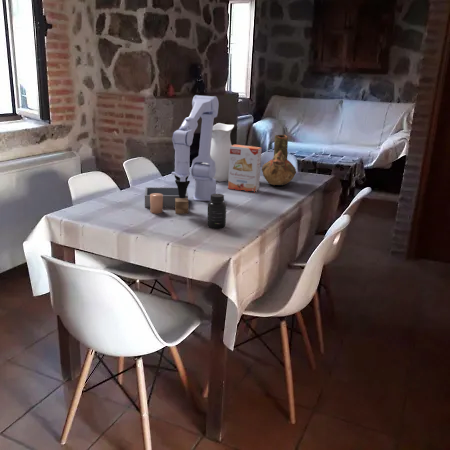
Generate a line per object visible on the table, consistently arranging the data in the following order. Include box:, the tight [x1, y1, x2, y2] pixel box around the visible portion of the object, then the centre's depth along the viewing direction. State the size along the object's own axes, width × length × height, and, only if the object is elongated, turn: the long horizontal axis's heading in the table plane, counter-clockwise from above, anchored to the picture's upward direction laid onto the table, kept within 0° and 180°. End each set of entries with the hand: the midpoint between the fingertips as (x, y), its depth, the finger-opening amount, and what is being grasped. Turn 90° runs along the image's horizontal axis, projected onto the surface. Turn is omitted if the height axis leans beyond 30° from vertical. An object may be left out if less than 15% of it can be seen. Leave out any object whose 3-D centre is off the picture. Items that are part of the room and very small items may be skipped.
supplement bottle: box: [206, 193, 227, 230], centre depth 176 cm, size 7×7×12 cm
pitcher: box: [201, 122, 235, 182], centre depth 242 cm, size 24×17×28 cm
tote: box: [144, 186, 189, 209], centre depth 203 cm, size 18×14×5 cm
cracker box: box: [227, 144, 263, 193], centre depth 227 cm, size 14×6×21 cm, turn 68°
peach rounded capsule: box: [149, 193, 164, 215], centre depth 191 cm, size 5×5×7 cm
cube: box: [174, 197, 189, 215], centre depth 192 cm, size 5×5×5 cm
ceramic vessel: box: [261, 134, 297, 186], centre depth 238 cm, size 17×26×25 cm, turn 171°
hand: (181, 195), depth 191 cm, fingers open, 7 cm apart
